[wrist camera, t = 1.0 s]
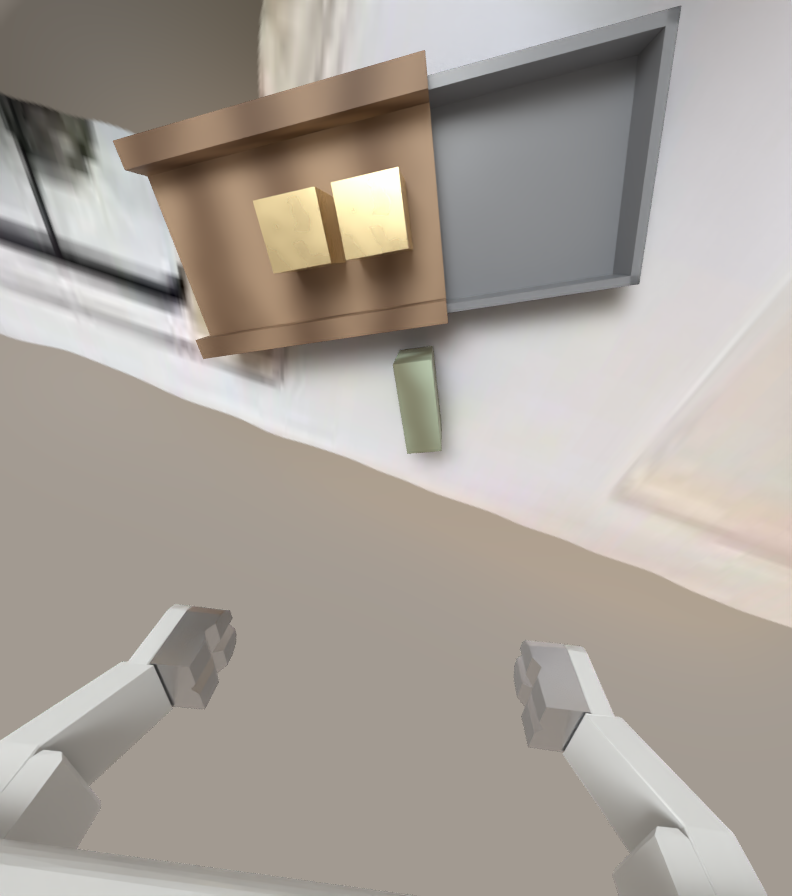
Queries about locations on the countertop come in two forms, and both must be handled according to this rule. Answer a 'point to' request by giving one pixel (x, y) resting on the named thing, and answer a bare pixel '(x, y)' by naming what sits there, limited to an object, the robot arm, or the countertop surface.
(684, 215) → the countertop surface
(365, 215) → the brass block
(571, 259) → the tray
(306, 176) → the slot board
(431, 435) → the bar
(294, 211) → the brass block
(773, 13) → the countertop surface
